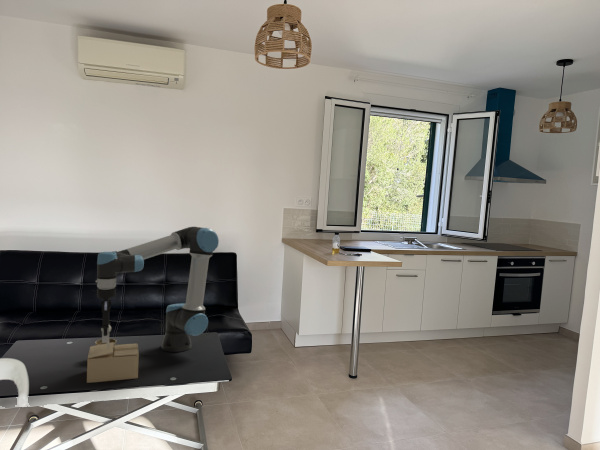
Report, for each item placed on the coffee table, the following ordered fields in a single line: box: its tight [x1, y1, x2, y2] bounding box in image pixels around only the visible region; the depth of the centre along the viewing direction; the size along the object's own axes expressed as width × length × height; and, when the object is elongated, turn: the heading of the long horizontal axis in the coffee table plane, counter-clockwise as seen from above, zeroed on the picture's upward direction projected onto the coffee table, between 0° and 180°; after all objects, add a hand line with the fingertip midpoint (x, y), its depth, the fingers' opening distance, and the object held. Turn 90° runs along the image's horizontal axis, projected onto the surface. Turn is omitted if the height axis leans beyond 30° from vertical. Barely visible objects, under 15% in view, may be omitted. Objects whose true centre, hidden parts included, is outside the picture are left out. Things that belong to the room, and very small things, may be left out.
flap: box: [87, 324, 114, 359], centre depth 189 cm, size 10×14×11 cm
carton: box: [86, 343, 140, 384], centre depth 192 cm, size 20×14×11 cm
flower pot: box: [94, 338, 118, 347], centre depth 209 cm, size 9×9×9 cm
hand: (105, 340), depth 190 cm, fingers closed on flap, 4 cm apart
